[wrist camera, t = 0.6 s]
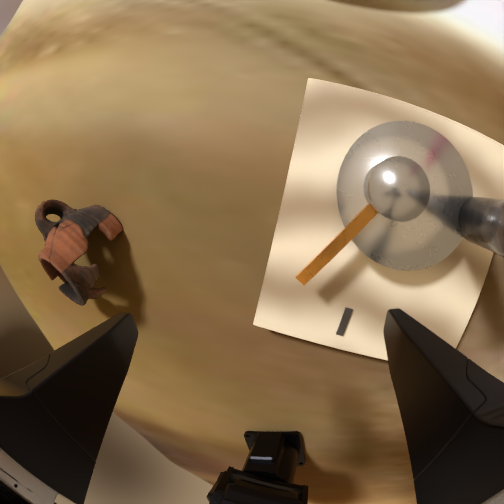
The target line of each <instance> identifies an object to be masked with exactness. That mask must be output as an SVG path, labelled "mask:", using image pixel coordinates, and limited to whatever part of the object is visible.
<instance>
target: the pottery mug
mask: <svg viewBox="0 0 504 504" xmlns="http://www.w3.org/2000/svg"><path fill="white" fill-rule="evenodd" d="M48 214H56V215H58V216H60V218H61V219H60V220H59V221H58V222H52V221H50V220H48V219H47V218H46V216H47V215H48ZM35 222H36V225H37V227H38V229H39V230H40V231H41V233H42V234H43V236H44V240H45V248H44V249H43V250H42V251H41V252H40V253H39V254H38V257H39V261H40V263H41V265H42V267H43V268H44V270H45V272H46V273H47V274H48V276H49V277H50V279H51V280H53V279H55V278H56V277H57V276H59V277H60V279H61V280H62V281H63V282H65V283H64V284H62V285H61V286H59V289H60V291H61V292H62V293H63V294H65V295H66V296H67V297H68V298H69V299H71V300H72V301H73V302H75V303H77V304H79V305H81V306H82V305H85V304H86V302H87V300H88V299H93V298H97V297H98V296H100V295H101V294H103V293H104V292H105V291H106V290H107V289H106V287H103V288H92V287H93V286H94V284H95V282H96V278H97V277H98V276H99V269H98V266H97V264H93V265H91V266H90V267H87V266H85V267H84V266H77V265H76V264H75V263H74V262H75V261H76V260H77V259H78V258H79V257H80V256H82V255H84V254H85V253H86V250H87V248H88V241H87V237H89V235H90V234H91V233H92V231H93V230H94V229H96V228H98V229H99V230H101V231H102V232H103V233H104V234H105V236H106V237H107V238H108V239H109V240H113V239H114V238H115V237H116V235H117V234H119V233H120V232H121V231H122V230H123V227H122V226H121V224H120V222H119V221H118V220H117V219H116V218H115V217H114V216H113V215H112V214H111V213H110V212H109V211H108V210H106V209H105V208H104V207H101V206H99V205H93V206H90V207H86V208H83V209H79V210H76V209H73V208H71V207H69V206H68V205H67V204H65V203H63V202H61V201H58V200H47V201H43V202H42V203H41V205H39V206H38V207H37V209H36V212H35Z"/></svg>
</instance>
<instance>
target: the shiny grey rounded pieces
mask: <svg viewBox="0 0 504 504" xmlns="http://www.w3.org/2000/svg"><path fill="white" fill-rule="evenodd" d="M336 200H337V206H338V211H339V214H340V217H341V220H342V223H343V225H344V227H345V228H344V229H343V230H342V231H341V232H340V233H339V234H338V235H337V236H336V237H335V238H334V239H333V240H332V241H331V242H330V243H329V244H328V245H327V246H326V247H325V248H324V249H323V250H322V251H321V252H320V253H319V254H317V255H316V256H315V257H314V258H313V259H312V260H311V261H310V262H309V263H308V264H307V265H306V266H305V267H304V268H303V269H302V270H301V271H300V272H299V273H298V274H297V275H296V277H295V278H296V279H297V280H298V281H299V282H300V283H301V284H302V285H303V286H304V285H305V284H307V283H308V282H309V281H310V280H311V279H312V278H313V277H314V276H315V275H316V274H317V273H318V272H319V271H320V270H321V269H322V268H323V267H324V266H325V265H327V264H328V263H329V262H330V261H331V260H332V259H333V258H334V257H335V256H336V255H337V254H338V253H339V252H340V251H341V250H342V249H343V248H344V247H345V246H346V245H347V244H348V243H349V242H350V241H351V240H352V241H353V242H354V243H355V245H356V246H357V247H358V248H359V249H360V250H361V251H362V252H363V253H364V254H365V255H366V256H367V257H369V258H370V259H372V260H373V261H375V262H377V263H379V264H380V265H382V266H385V267H388V268H391V269H395V270H402V271H414V270H420V269H425V268H428V267H430V266H433V265H435V264H437V263H439V262H440V261H442V260H443V259H445V258H446V257H447V256H449V255H450V254H451V253H452V252H453V251H454V250H455V248H456V247H457V246H458V245H459V243H460V242H461V240H462V239H463V237H464V238H465V239H466V240H468V241H469V242H472V243H474V244H476V245H478V246H481V247H483V248H485V249H487V250H490V251H492V252H494V253H496V254H498V255H500V256H502V257H504V200H503V199H494V198H484V197H473V189H472V184H471V179H470V175H469V172H468V169H467V167H466V165H465V162H464V161H463V159H462V157H461V155H460V154H459V152H458V151H457V150H456V148H455V147H454V146H453V145H452V144H451V143H450V142H449V140H448V139H446V138H445V137H444V136H443V135H441V134H440V133H439V132H437V131H436V130H434V129H432V128H430V127H428V126H426V125H423V124H420V123H417V122H412V121H391V122H386V123H383V124H380V125H377V126H375V127H373V128H371V129H370V130H368V131H367V132H365V133H364V134H362V135H361V136H360V137H359V138H358V139H357V140H356V141H355V142H354V144H353V145H352V146H351V147H350V149H349V150H348V152H347V154H346V155H345V157H344V160H343V162H342V164H341V166H340V170H339V173H338V177H337V183H336Z"/></svg>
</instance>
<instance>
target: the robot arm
mask: <svg viewBox="0 0 504 504" xmlns="http://www.w3.org/2000/svg"><path fill="white" fill-rule="evenodd" d="M383 334H384V340H385V346H386V351H387V357H388V364H389V370H390V374H391V378H392V382H393V386H394V389H395V393H396V397H397V401H398V405H399V409H400V413H401V418H402V422H403V426H404V431H405V435H406V440H407V445H408V450H409V455H410V461H411V466H412V472H413V478H414V485H415V492H416V500H417V504H504V383H503V382H502V381H500V380H498V379H497V378H495V377H494V376H492V375H491V374H489V373H488V372H486V371H485V370H484V369H482V368H481V367H479V366H478V365H477V364H475V363H474V362H473V361H471V360H470V359H467V357H466V356H465V355H463V354H462V353H461V352H459V351H458V350H457V349H455V348H454V347H453V346H451V345H450V344H449V343H447V342H446V341H444V340H443V339H442V338H440V337H439V336H438V335H436V334H435V333H433V332H432V331H431V330H429V329H428V328H427V327H425V326H424V325H422V324H421V323H420V322H418V321H417V320H415V319H414V318H413V317H411V316H410V315H408V314H407V313H406V312H404V311H403V310H401V309H399V308H396V309H389V310H388V311H387V314H386V319H385V324H384V329H383ZM137 338H138V329H137V327H136V324H135V322H134V319H133V316H132V315H131V314H130V313H123V312H121V313H119V314H117V315H115V316H113V317H112V318H110V319H108V320H107V321H105V322H103V323H101V324H100V325H98V326H96V327H94V328H93V329H91V330H89V331H88V332H86V333H84V334H82V335H81V336H79V337H77V338H75V339H74V340H72V341H70V342H69V343H67V344H65V345H63V346H62V347H60V348H58V349H57V350H55V351H53V352H52V353H51V354H48V355H47V356H45V357H43V358H41V359H39V360H38V361H36V362H34V363H32V364H30V365H28V366H26V367H25V368H23V369H21V370H19V371H17V372H15V373H13V374H11V375H9V376H7V377H5V378H3V379H0V504H56V503H55V499H56V497H57V495H59V496H61V497H63V498H65V499H67V500H69V501H71V502H72V503H74V504H84V501H85V497H86V493H87V490H88V486H89V483H90V480H91V476H92V473H93V469H94V466H95V463H96V459H97V456H98V453H99V450H100V447H101V444H102V441H103V438H104V435H105V432H106V429H107V426H108V423H109V420H110V417H111V414H112V412H113V409H114V406H115V404H116V401H117V398H118V395H119V393H120V390H121V388H122V385H123V382H124V380H125V377H126V375H127V372H128V369H129V366H130V362H131V359H132V355H133V352H134V348H135V345H136V341H137ZM295 435H296V436H295ZM244 437H245V440H246V443H247V445H248V448H249V451H250V452H249V454H248V457H247V459H246V462H245V464H244V467H243V469H242V471H240V470H237V469H234V468H233V467H230V466H229V468H228V470H227V471H225V472H221V473H220V475H219V477H218V479H217V481H216V483H215V485H214V486H213V487H212V489H211V490H210V492H209V493H208V495H207V499H208V501H209V504H307V501H308V486H306V485H303V486H302V485H297V484H293V479H294V475H295V471H296V466H303V465H305V456H304V451H303V446H302V441H301V436H300V433H299V432H296V431H292V432H259V431H246V432H245V434H244Z"/></svg>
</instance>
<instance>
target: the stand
mask: <svg viewBox="0 0 504 504" xmlns="http://www.w3.org/2000/svg"><path fill="white" fill-rule="evenodd" d="M391 121H412V122H417V123H420V124H423V125H426V126H428V127H430V128H432V129H434V130H436V131H437V132H439V133H440V134H441V135H443V136H444V137H445V138H446V139H448V140H449V142H450V143H451V144H452V145H453V146H454V147H455V148H456V150H457V151H458V152H459V154H460V155H461V157H462V159H463V161H464V162H465V165H466V167H467V169H468V172H469V175H470V179H471V184H472V189H473V197H484V198H494V199H503V200H504V145H502V144H500V143H498V142H496V141H495V140H493V139H491V138H489V137H487V136H485V135H483V134H481V133H479V132H477V131H475V130H473V129H471V128H469V127H466V126H464V125H462V124H460V123H458V122H455V121H453V120H451V119H448V118H446V117H444V116H441V115H439V114H436V113H434V112H431V111H428V110H426V109H423V108H420V107H418V106H415V105H412V104H409V103H406V102H403V101H400V100H397V99H394V98H391V97H387V96H384V95H381V94H377V93H373V92H370V91H366V90H362V89H358V88H354V87H350V86H346V85H342V84H337V83H333V82H328V81H323V80H318V79H312V78H308V82H307V87H306V92H305V96H304V101H303V106H302V111H301V116H300V121H299V125H298V130H297V135H296V139H295V144H294V149H293V153H292V158H291V163H290V167H289V172H288V176H287V181H286V186H285V190H284V195H283V199H282V203H281V208H280V212H279V217H278V221H277V226H276V230H275V234H274V239H273V243H272V247H271V252H270V256H269V260H268V264H267V269H266V273H265V277H264V281H263V286H262V290H261V294H260V298H259V302H258V306H257V311H256V315H255V319H254V323H253V325H256V326H259V327H262V328H266V329H269V330H272V331H276V332H279V333H283V334H286V335H289V336H293V337H296V338H300V339H304V340H307V341H311V342H315V343H318V344H322V345H326V346H330V347H333V348H337V349H341V350H345V351H349V352H353V353H358V354H362V355H366V356H370V357H375V358H379V359H384V360H388V357H387V351H386V346H385V340H384V334H383V329H384V324H385V319H386V314H387V311H388V310H389V309H396V308H399V309H401V310H403V311H404V312H406V313H407V314H408V315H410V316H411V317H413V318H414V319H415V320H417V321H418V322H420V323H421V324H422V325H424V326H425V327H427V328H428V329H429V330H431V331H432V332H433V333H435V334H436V335H438V336H439V337H440V338H442V339H443V340H444V341H446V342H447V343H449V344H450V345H451V346H453V347H454V348H455V349H456V347H457V345H458V343H459V341H460V339H461V337H462V335H463V332H464V330H465V328H466V326H467V324H468V321H469V319H470V317H471V315H472V312H473V310H474V307H475V305H476V302H477V300H478V297H479V295H480V292H481V289H482V287H483V284H484V281H485V278H486V275H487V272H488V269H489V266H490V263H491V260H492V257H493V253H494V252H492V251H490V250H487V249H485V248H483V247H481V246H478V245H476V244H474V243H472V242H469V241H468V240H466V239H465V238H464V237H463V239H462V240H461V242H460V243H459V245H458V246H457V247H456V248H455V250H454V251H453V252H452V253H451V254H450V255H449V256H447V257H446V258H445V259H443V260H442V261H440V262H439V263H437V264H435V265H433V266H430V267H428V268H425V269H420V270H414V271H402V270H395V269H391V268H388V267H385V266H382V265H380V264H379V263H377V262H375V261H373V260H372V259H370V258H369V257H367V256H366V255H365V254H364V253H363V252H362V251H361V250H360V249H359V248H358V247H357V246H356V245H355V243H354V242H353V241H352V240H351V241H350V242H349V243H348V244H347V245H346V246H345V247H344V248H343V249H342V250H341V251H340V252H339V253H338V254H337V255H336V256H335V257H334V258H333V259H332V260H331V261H330V262H329V263H328V264H327V265H325V266H324V267H323V268H322V269H321V270H320V271H319V272H318V273H317V274H316V275H315V276H314V277H313V278H312V279H311V280H310V281H309V282H308V283H307V284H305V285H304V286H303V285H302V284H301V283H300V282H299V281H298V280H297V279H296V278H295V277H296V275H297V274H298V273H299V272H300V271H301V270H302V269H303V268H304V267H305V266H306V265H307V264H308V263H309V262H310V261H311V260H312V259H313V258H314V257H315V256H316V255H317V254H319V253H320V252H321V251H322V250H323V249H324V248H325V247H326V246H327V245H328V244H329V243H330V242H331V241H332V240H333V239H334V238H335V237H336V236H337V235H338V234H339V233H340V232H341V231H342V230H343V229H344V228H345V227H344V225H343V223H342V220H341V217H340V214H339V211H338V206H337V200H336V183H337V177H338V173H339V170H340V166H341V164H342V162H343V160H344V157H345V155H346V154H347V152H348V150H349V149H350V147H351V146H352V145H353V144H354V142H355V141H356V140H357V139H358V138H359V137H360V136H361V135H362V134H364V133H365V132H367V131H368V130H370V129H371V128H373V127H375V126H377V125H380V124H383V123H386V122H391Z"/></svg>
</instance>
